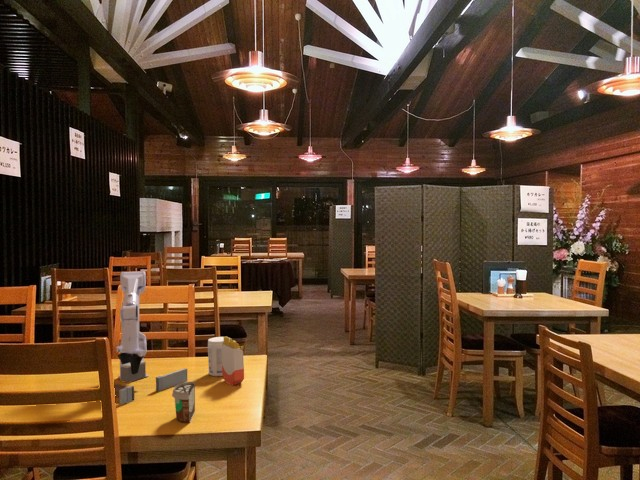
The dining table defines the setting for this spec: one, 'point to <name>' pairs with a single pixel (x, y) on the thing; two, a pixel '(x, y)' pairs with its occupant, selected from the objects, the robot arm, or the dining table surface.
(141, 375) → the block
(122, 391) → the wall
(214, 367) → the supplement tub
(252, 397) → the dining table surface
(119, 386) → the door
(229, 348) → the french fries container
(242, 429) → the dining table surface
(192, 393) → the food container
